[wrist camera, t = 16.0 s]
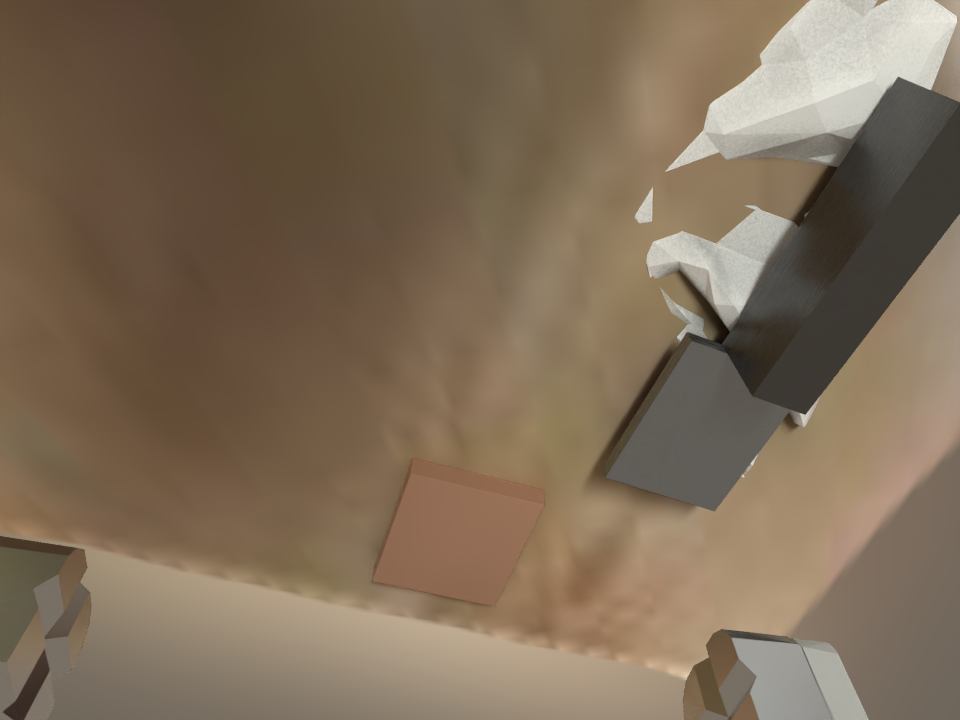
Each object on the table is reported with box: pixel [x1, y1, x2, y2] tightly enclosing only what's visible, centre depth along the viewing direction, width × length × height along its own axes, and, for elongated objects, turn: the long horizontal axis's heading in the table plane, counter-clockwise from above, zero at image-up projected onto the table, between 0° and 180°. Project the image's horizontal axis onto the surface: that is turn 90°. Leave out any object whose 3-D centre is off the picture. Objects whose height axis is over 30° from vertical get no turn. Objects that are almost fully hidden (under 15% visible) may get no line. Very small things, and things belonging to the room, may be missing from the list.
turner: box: [603, 77, 960, 511], centre depth 31 cm, size 20×6×4 cm, turn 158°
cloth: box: [635, 0, 957, 478], centre depth 32 cm, size 26×14×2 cm, turn 165°
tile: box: [373, 458, 545, 606], centre depth 41 cm, size 2×7×8 cm
